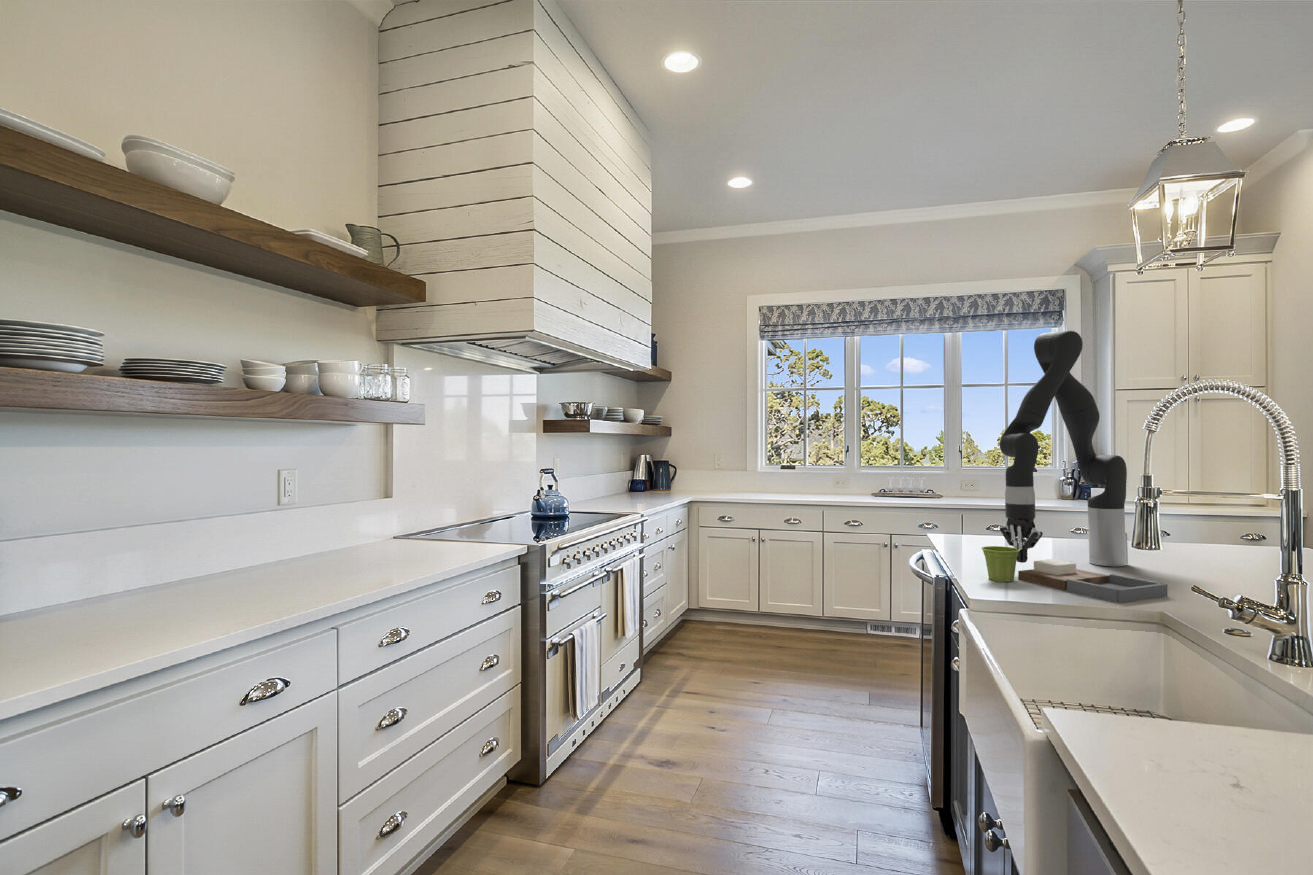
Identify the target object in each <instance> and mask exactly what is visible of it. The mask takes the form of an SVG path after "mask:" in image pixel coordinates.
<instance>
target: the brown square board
mask: <svg viewBox="0 0 1313 875" xmlns="http://www.w3.org/2000/svg"><path fill="white" fill-rule="evenodd" d="M1017 574H1018V575H1017V576H1018V577H1017V578H1018V581H1020V582H1021V581H1022V582H1027V583H1030V584H1034V585H1039V586H1044V587H1048V588H1051V589H1055V590H1061V591H1066V588H1067V579H1073V580H1078V581H1083V582H1087V583H1092V584H1101V583H1110V574H1104V573H1098V572H1094V571H1089V570H1085V569H1077V568H1076V573H1070V574H1061V575H1055V574H1050V573H1045V572H1040V571H1035V570H1034V568H1032V569H1025V570H1018V573H1017ZM1066 592H1067V591H1066Z"/></svg>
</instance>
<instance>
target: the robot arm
mask: <svg viewBox="0 0 1313 875" xmlns="http://www.w3.org/2000/svg"><path fill="white" fill-rule="evenodd" d="M1083 343H1084V342H1083V339H1082V337H1081V335H1080V334H1079V333H1078V332H1076V331H1075V330H1062V331H1060V330H1059V331H1051V332H1044V333H1043V332H1042V333H1041V334H1039V335H1038V336H1036V338H1035V340H1034V344H1033V351H1034V355H1035V358H1036V360H1037V362H1038V364H1039V366H1040V368H1041V370H1042V372H1043V374H1044V375H1042V376H1041V378H1040V379H1038V381H1037V382H1036V383H1035V384H1034V385H1033V386H1032V387H1031V388H1029V390H1028V391H1027V392H1026V394H1025V395H1024V397H1023V399H1022V401H1021V402H1020V405H1019V408H1018V410H1017V412H1016V416H1015V417H1014V419H1013V420H1012V421H1011V423H1010V424H1009V425H1008V427H1006V429H1005V430H1004V432H1003V433H1002V434H1001V437H1000V441H999V449H1000V451H1001V453H1002V454H1003V455H1004V456H1006V457H1009V458H1014V460H1013V464H1012V465H1009V466H1008V467H1006V469H1005V492H1004V500H1005V501H1004V502H1005V503H1004V504H1005V506H1004V507H1005V508H1004V509H1005V518H1006V519H1007V520H1006V525H1005V526H1003V527H1000V528H999V531H1000V532H1001V534H1002V536H1003V537H1004V539H1005V541H1006V542H1007V544H1008V546H1009V547H1012V548H1017V549H1020V552H1018V557H1017V560H1016V563H1021V564H1022V563H1026V562H1027V561H1028V550H1029V549H1032V548H1034V547H1035V546H1036V545H1037V543H1039V540H1040V539H1041V538H1042V536H1043V533H1044V532H1042V531H1038V530H1037V528H1036V525H1035V522H1034V520H1035V519H1036V494H1035V493H1036V492H1035V488H1034V484H1035V483H1034V470H1035V467H1036V464H1037V459H1038V455H1039V448H1040V447H1039V442H1038V439H1037V438H1036V436H1035V435H1033V434H1032V431H1035V430H1038V429H1039V428H1040V427H1041V426H1042V425H1043V424H1044V421H1045V419H1046V416H1047V414H1048V410H1049V409H1050V406H1051V404H1052V401H1053V400H1054V398H1055V400H1056V403H1057V406H1058V409H1059V411H1060V415H1061V417H1062V421H1063V422H1064V425H1065V427H1066V429H1067V432H1068V436H1069V438H1070V441H1071V444H1072V447H1073V450H1074V454H1075V459H1076V463H1077V466H1078V470H1079V474H1080V476H1081V478H1082V480H1083V481H1084V483H1086V484H1089V485H1093V486H1094V485H1095V486H1104V491H1103V492H1102V493H1100V494H1097V495H1095V496H1090V497H1089V498H1088V499H1087V524H1088V528H1087V529H1088V530H1087V531H1088V561H1089V562H1088V563H1089V564H1091V565H1096V566H1104V567H1126V566H1127V565H1129V555H1128V554H1129V553H1128V549H1129V548H1128V533H1127V532H1126V517H1125V516H1126V515H1125V504H1126V500H1127V499H1126V498H1127V480H1128V478H1127V476H1128V469H1127V468H1128V467H1127V463H1126V461H1125V459H1124V458H1123V457H1122V456H1120V455H1116V454H1115V455H1113V454H1112V455H1111V454H1097V453H1096V452H1095V449H1094V447H1093V437H1094V435H1095V432H1096V430H1097V428H1098V426H1099V422H1100V411H1099V409H1098V406H1097V403H1096V400H1095V398H1094V396H1093V395H1092V393H1091V392H1090V391H1089V389H1088V388H1086V386H1085V385H1084V384H1082V383H1081V382H1080V381H1079V380H1078V379H1077V378H1075V377H1074V375H1073V374H1072V373H1071V370H1072V369H1073V367H1074V366H1075V364H1076V362H1077V361H1078V359H1079V357H1080V355H1081V353H1082V351H1083V346H1084V345H1083Z"/></svg>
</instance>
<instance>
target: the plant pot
mask: <svg viewBox="0 0 1313 875" xmlns="http://www.w3.org/2000/svg"><path fill="white" fill-rule="evenodd" d="M981 550H982V551H983V553H982V554H983V555H984V557H985V564H986V568H987V576H988V579H989V580H993V581H994V582H1000V583H1001V582H1002V583H1006V582H1007V583H1008V581H1009V582H1014V581H1015V574H1016V566H1017V557H1018V552H1020V549H1017V548H1014V547H1013V546H1001V545H999V546H998V545H990V546H989V545H987V546H982V547H981Z"/></svg>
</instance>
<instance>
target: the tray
mask: <svg viewBox="0 0 1313 875" xmlns="http://www.w3.org/2000/svg"><path fill="white" fill-rule="evenodd" d="M1109 575H1110V583H1101V584H1092V583H1087V582H1083V581H1078V580H1073V579H1067V588H1066V592H1069V593H1073V594H1079V595H1083V596H1087V597H1089V598H1090V597H1091V598H1096V599H1100V600H1104V601H1109V602H1113V603H1117V604H1125V603H1131V602H1132V603H1133V602H1140V601H1145V600H1146V601H1147V600H1154V599H1162V598H1168V597H1169V596H1168V595H1169V594H1168V584H1167V583H1162V582H1158V581H1153V580H1146V579H1141V578H1136V577H1131V576H1126V575H1120V574H1115V573H1111V574H1109Z"/></svg>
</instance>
